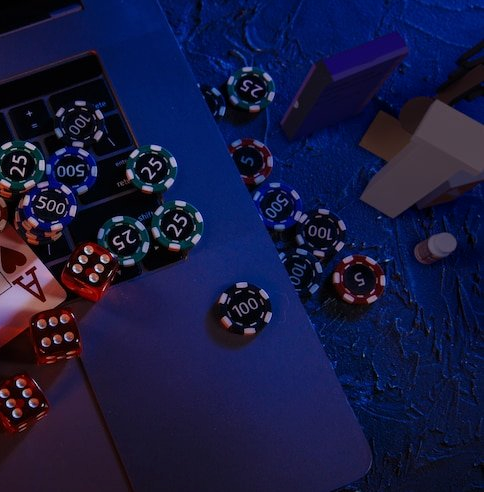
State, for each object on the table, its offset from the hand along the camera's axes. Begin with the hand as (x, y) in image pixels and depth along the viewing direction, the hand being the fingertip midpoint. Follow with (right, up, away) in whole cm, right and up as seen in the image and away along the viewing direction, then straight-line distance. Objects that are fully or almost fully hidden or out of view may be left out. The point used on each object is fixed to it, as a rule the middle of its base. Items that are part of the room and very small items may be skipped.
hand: (445, 96), depth 120 cm
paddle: (+1, 0, +3) cm, 4 cm away
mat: (-4, -6, +14) cm, 16 cm away
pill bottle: (0, -31, +8) cm, 32 cm away
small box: (+3, -18, +11) cm, 21 cm away
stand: (-8, -19, +11) cm, 23 cm away
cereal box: (-19, -1, +16) cm, 25 cm away
